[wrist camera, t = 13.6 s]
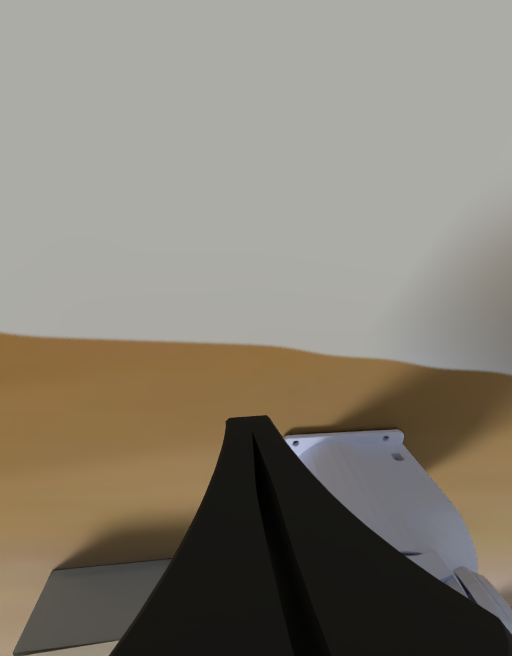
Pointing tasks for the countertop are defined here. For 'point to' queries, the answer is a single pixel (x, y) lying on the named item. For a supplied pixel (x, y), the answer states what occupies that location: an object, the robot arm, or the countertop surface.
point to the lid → (83, 650)
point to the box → (88, 605)
